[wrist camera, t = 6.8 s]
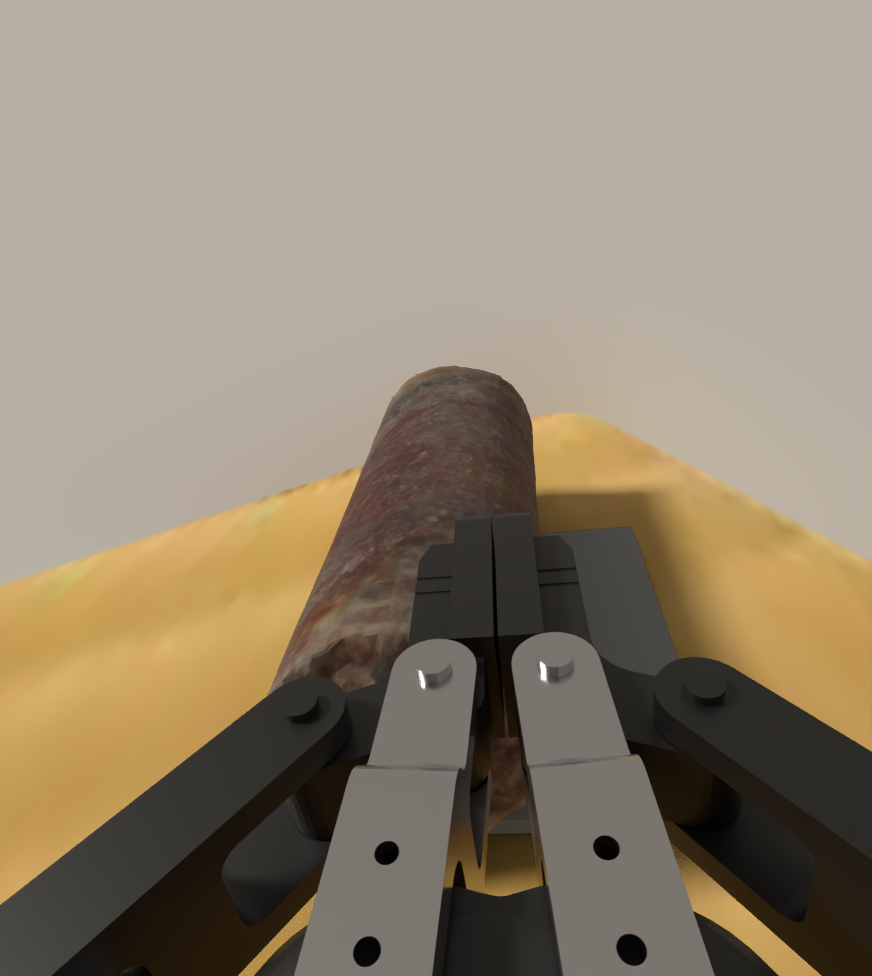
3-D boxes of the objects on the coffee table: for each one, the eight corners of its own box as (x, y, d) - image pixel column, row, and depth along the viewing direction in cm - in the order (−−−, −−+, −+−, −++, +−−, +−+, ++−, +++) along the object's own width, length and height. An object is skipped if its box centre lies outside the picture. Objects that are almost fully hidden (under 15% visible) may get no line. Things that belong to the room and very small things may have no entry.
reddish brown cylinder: (608, 848, 17) (549, 466, 34) (511, 630, 14) (501, 330, 31) (331, 893, 19) (409, 509, 36) (188, 711, 15) (349, 386, 33)
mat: (334, 838, 20) (330, 825, 20) (390, 555, 32) (388, 544, 32) (729, 827, 19) (731, 813, 18) (631, 537, 31) (631, 526, 30)
